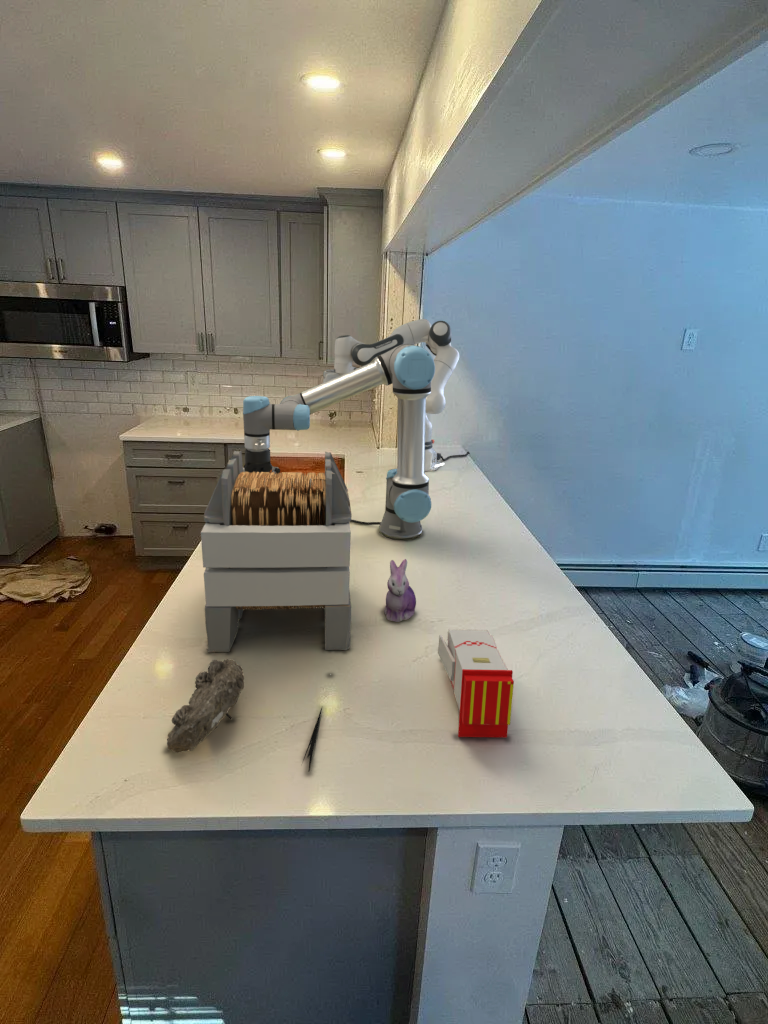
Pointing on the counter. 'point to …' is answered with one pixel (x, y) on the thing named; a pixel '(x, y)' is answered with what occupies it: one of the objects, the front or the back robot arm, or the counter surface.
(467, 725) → the toy
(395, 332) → the back robot arm
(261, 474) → the record storage crate
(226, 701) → the fossil
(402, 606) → the figurine
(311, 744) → the feather
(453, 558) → the counter surface
